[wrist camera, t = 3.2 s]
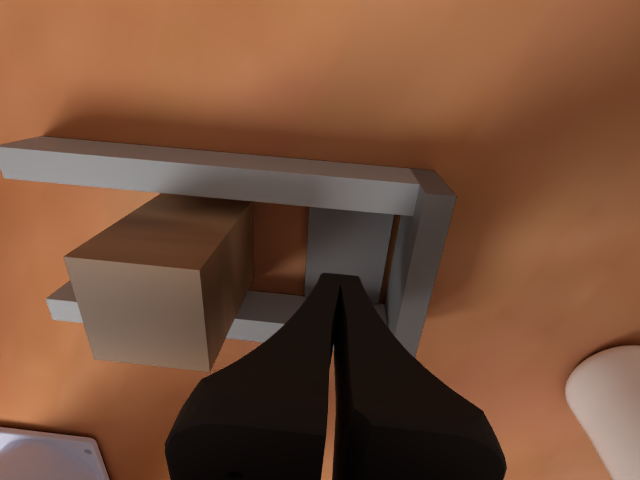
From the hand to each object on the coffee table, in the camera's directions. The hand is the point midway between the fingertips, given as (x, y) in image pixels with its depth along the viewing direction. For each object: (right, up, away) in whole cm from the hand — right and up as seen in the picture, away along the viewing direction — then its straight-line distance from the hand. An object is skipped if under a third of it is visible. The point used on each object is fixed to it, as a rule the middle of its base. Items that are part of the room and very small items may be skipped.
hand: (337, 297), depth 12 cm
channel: (-5, +2, +4) cm, 7 cm away
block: (-6, +2, +4) cm, 7 cm away
